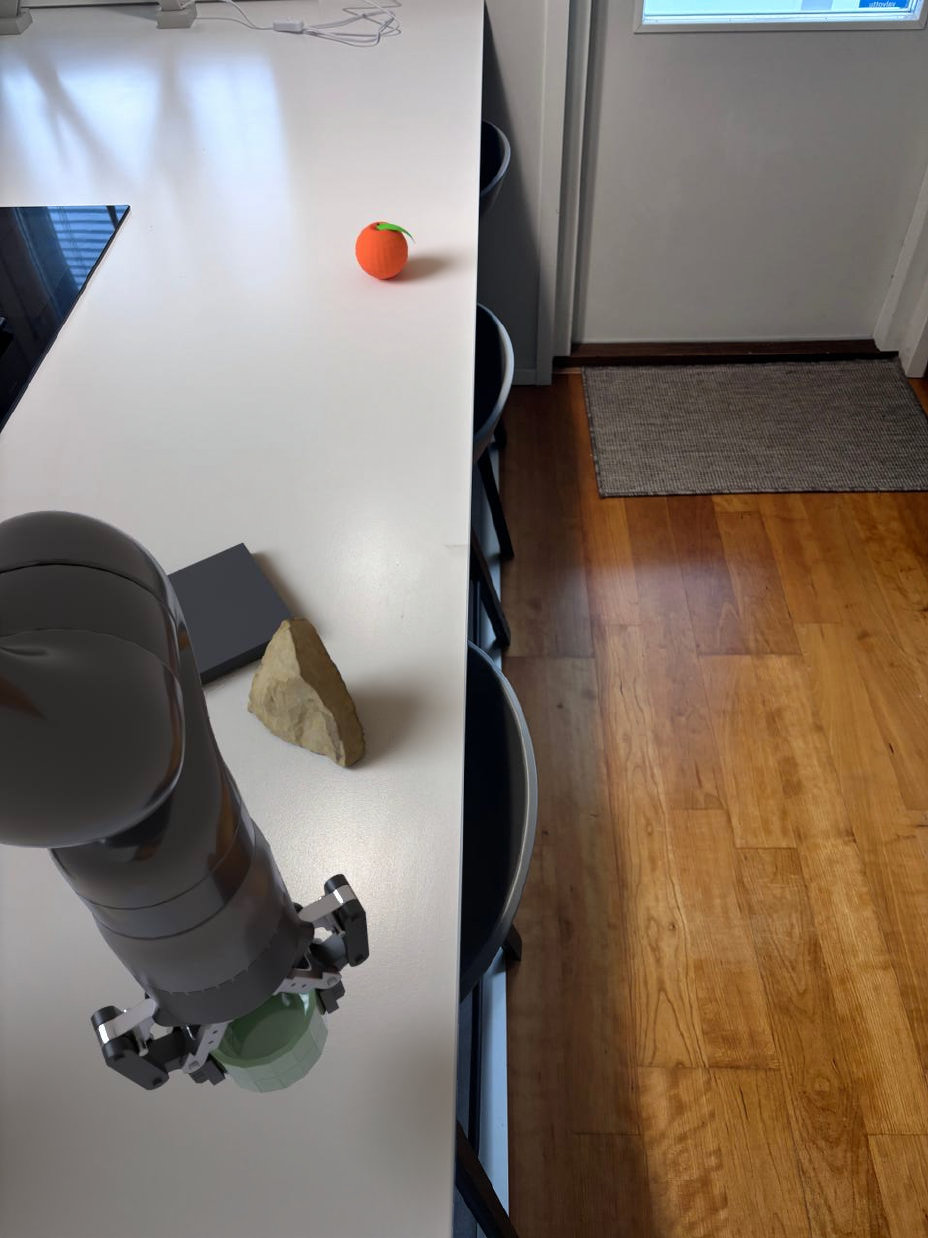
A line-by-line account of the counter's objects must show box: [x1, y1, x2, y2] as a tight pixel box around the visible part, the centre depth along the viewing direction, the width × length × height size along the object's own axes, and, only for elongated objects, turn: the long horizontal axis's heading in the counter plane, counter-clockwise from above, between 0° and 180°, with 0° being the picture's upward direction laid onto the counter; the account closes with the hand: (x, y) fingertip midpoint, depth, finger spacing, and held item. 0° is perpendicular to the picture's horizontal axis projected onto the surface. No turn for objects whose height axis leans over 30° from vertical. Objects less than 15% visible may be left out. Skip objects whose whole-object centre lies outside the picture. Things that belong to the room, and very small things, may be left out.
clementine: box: [354, 221, 416, 280], centre depth 124 cm, size 8×7×7 cm
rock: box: [246, 617, 367, 769], centre depth 76 cm, size 11×9×10 cm
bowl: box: [209, 988, 329, 1094], centre depth 53 cm, size 6×6×5 cm
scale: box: [166, 542, 295, 687], centre depth 85 cm, size 16×13×3 cm
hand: (271, 1031), depth 54 cm, fingers closed on bowl, 6 cm apart
